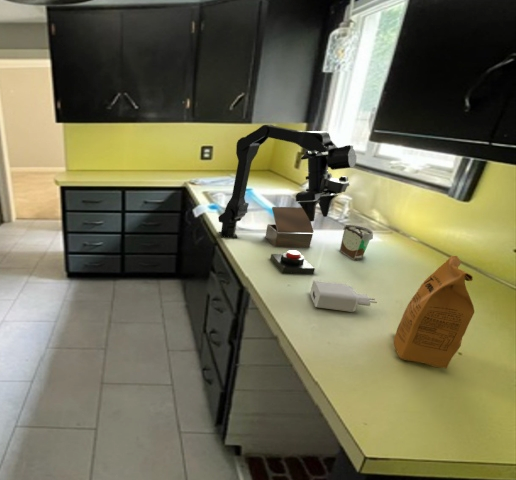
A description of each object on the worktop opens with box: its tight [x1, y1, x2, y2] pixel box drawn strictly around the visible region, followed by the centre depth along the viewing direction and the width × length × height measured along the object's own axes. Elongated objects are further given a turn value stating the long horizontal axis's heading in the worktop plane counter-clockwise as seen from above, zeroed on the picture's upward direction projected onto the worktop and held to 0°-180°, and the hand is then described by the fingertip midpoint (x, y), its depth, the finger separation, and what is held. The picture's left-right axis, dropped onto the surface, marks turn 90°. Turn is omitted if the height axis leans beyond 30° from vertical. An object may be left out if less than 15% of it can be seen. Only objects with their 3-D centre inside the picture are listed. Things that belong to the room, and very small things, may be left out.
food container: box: [339, 224, 374, 261], centre depth 132 cm, size 12×6×10 cm, turn 179°
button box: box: [269, 251, 316, 275], centre depth 124 cm, size 12×10×4 cm
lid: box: [271, 206, 314, 234], centre depth 142 cm, size 12×13×1 cm
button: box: [286, 249, 302, 259], centre depth 122 cm, size 4×4×2 cm
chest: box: [264, 223, 314, 248], centre depth 145 cm, size 11×13×6 cm
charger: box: [309, 280, 378, 313], centre depth 100 cm, size 5×9×15 cm
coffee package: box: [393, 255, 475, 369], centre depth 77 cm, size 10×12×22 cm
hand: (318, 218), depth 123 cm, fingers open, 9 cm apart
